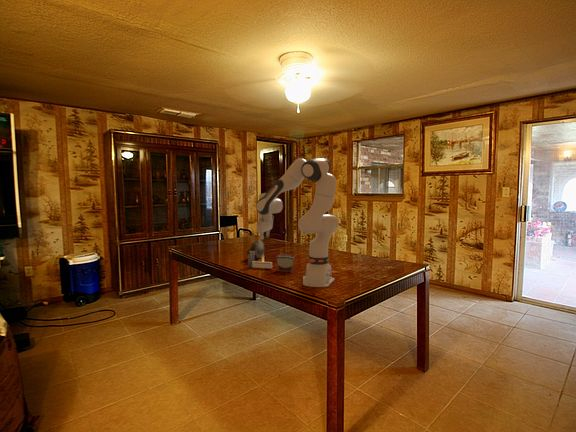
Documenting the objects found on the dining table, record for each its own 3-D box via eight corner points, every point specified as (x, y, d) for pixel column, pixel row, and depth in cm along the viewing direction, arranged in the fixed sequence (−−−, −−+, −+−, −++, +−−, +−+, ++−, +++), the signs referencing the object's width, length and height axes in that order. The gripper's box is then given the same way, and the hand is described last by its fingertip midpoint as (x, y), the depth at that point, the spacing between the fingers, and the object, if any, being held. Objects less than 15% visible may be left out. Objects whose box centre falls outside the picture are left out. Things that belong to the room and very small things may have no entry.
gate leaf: (252, 267, 212) (252, 261, 212) (252, 266, 213) (252, 261, 213) (271, 268, 209) (271, 262, 208) (272, 268, 210) (272, 262, 210)
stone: (255, 256, 250) (255, 237, 249) (266, 257, 245) (265, 238, 244) (244, 259, 238) (244, 240, 236) (255, 261, 233) (255, 241, 231)
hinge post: (251, 268, 211) (251, 254, 211) (247, 267, 212) (247, 254, 211) (252, 267, 214) (252, 253, 213) (249, 266, 215) (248, 253, 214)
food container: (296, 269, 207) (296, 254, 207) (294, 271, 201) (294, 256, 201) (278, 268, 211) (278, 254, 210) (276, 270, 205) (276, 255, 204)
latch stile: (253, 263, 226) (253, 251, 225) (249, 262, 227) (249, 251, 226) (254, 262, 228) (254, 251, 227) (250, 262, 229) (250, 250, 228)
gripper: (263, 219, 192) (263, 240, 193) (274, 215, 211) (274, 235, 213) (254, 218, 194) (254, 240, 195) (266, 215, 213) (265, 235, 215)
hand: (264, 237), depth 204 cm, fingers open, 8 cm apart
